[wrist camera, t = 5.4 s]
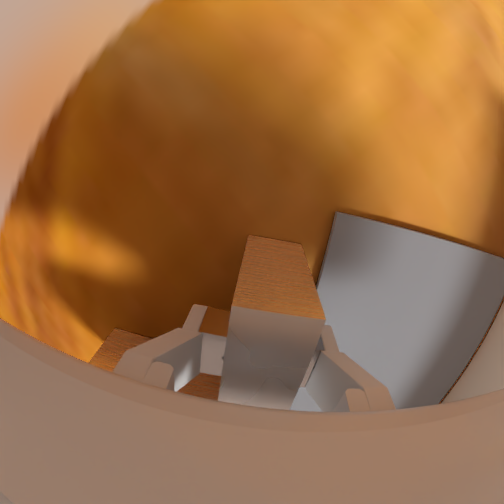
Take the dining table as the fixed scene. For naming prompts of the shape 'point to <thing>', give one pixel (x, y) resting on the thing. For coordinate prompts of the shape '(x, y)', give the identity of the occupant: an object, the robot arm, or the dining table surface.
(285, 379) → the bracket
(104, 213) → the dining table surface
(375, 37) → the dining table surface
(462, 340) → the mat
